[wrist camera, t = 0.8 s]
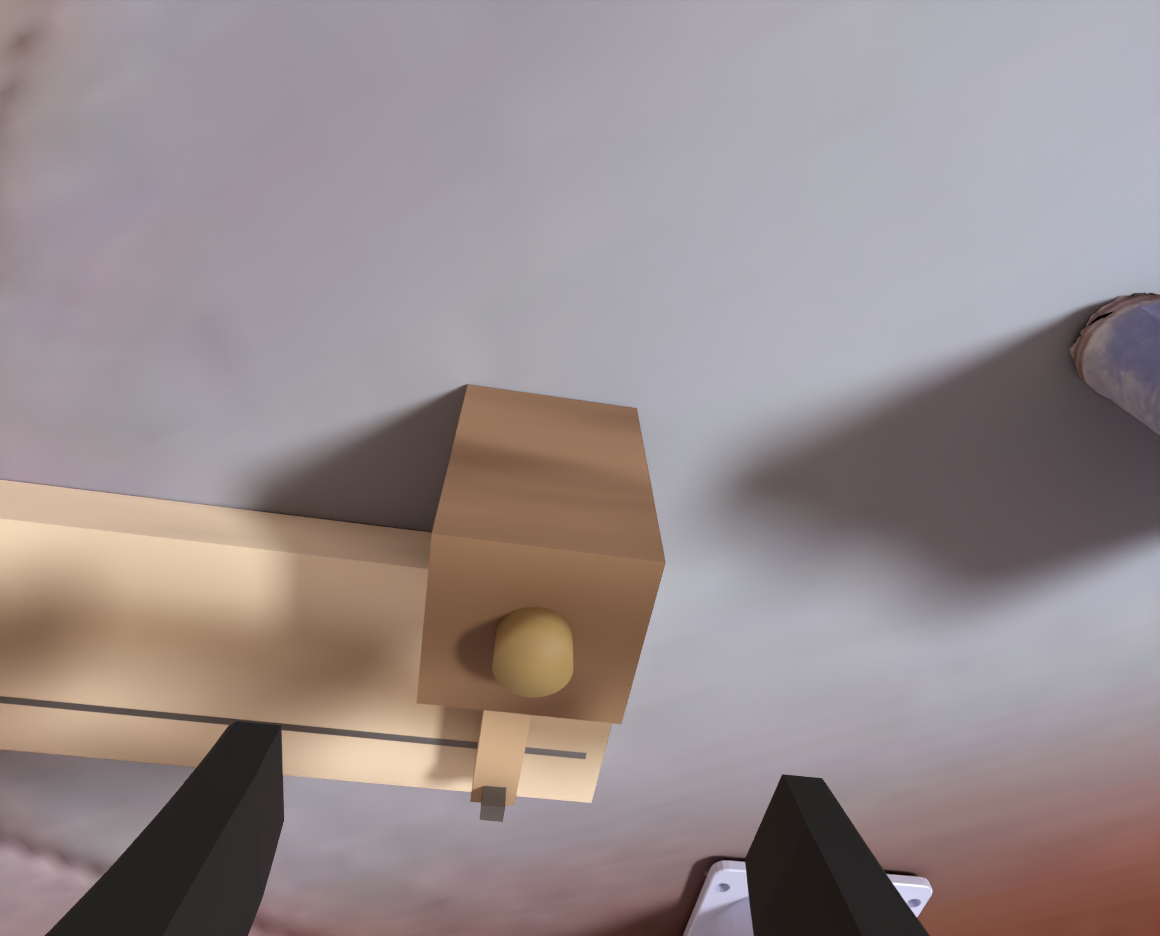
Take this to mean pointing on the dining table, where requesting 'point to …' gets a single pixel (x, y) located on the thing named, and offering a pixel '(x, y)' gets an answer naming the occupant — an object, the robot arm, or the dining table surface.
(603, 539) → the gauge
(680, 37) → the dining table surface
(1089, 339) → the flask
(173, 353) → the dining table surface
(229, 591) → the board
